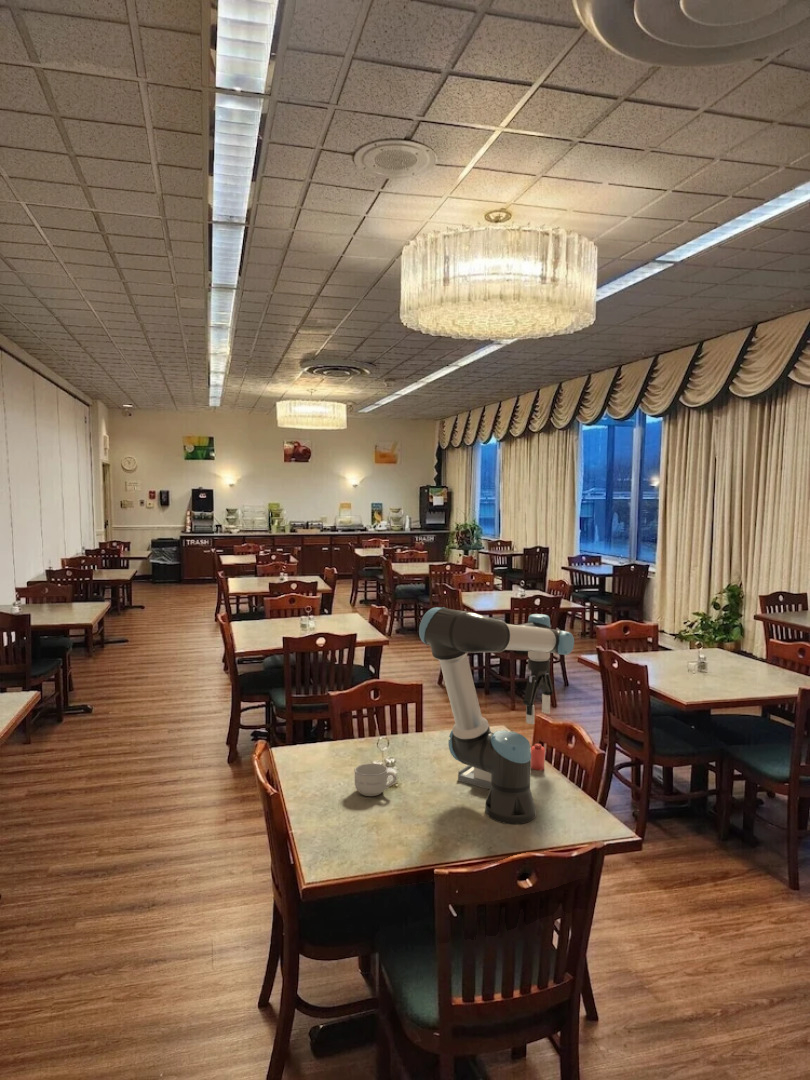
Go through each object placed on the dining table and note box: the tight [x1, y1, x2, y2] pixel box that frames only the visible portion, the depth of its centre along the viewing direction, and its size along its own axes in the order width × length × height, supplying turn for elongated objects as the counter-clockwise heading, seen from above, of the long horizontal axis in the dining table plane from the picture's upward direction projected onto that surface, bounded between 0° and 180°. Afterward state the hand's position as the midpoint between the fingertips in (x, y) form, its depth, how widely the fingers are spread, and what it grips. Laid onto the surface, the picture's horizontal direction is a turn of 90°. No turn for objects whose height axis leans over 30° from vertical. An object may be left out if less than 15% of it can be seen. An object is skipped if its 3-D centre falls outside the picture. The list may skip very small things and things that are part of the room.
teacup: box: [353, 762, 398, 797], centre depth 211 cm, size 14×11×8 cm
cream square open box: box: [474, 767, 491, 782], centre depth 219 cm, size 9×9×6 cm
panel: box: [457, 765, 491, 790], centre depth 227 cm, size 15×26×3 cm, turn 145°
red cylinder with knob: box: [530, 743, 546, 771], centre depth 231 cm, size 5×5×8 cm
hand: (538, 718), depth 230 cm, fingers open, 13 cm apart
